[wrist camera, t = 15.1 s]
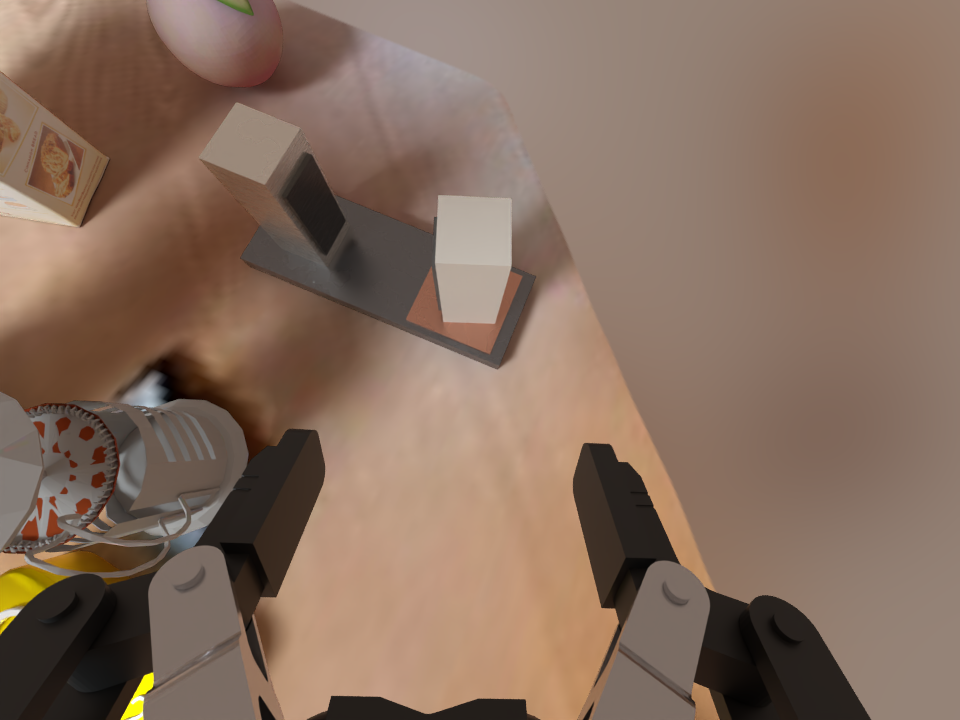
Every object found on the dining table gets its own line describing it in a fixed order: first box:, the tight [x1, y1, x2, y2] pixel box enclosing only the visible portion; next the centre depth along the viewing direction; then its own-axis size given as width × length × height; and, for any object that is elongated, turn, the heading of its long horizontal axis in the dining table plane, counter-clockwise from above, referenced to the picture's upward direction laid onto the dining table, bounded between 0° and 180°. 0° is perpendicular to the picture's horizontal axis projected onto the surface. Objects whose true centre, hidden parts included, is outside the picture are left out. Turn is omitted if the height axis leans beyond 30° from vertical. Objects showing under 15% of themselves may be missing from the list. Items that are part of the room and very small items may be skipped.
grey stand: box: [199, 102, 536, 369], centre depth 27 cm, size 22×8×12 cm, turn 67°
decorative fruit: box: [146, 0, 283, 87], centre depth 31 cm, size 9×8×10 cm
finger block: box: [432, 195, 512, 324], centre depth 26 cm, size 4×4×10 cm
